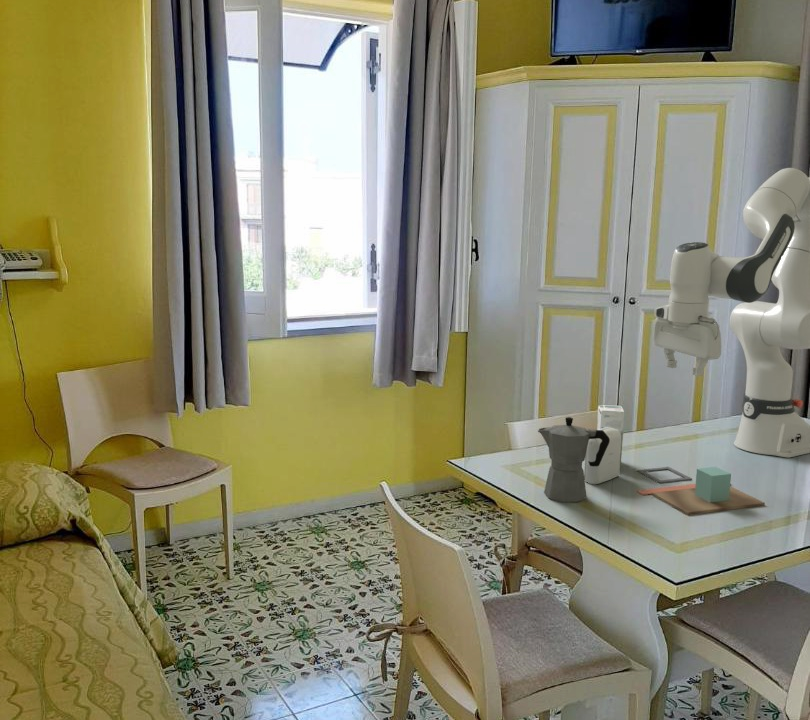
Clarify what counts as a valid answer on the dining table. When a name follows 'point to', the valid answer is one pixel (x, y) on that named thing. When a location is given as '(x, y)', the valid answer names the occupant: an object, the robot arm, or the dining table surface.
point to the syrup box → (611, 419)
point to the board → (696, 505)
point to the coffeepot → (569, 459)
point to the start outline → (665, 480)
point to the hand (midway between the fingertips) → (684, 371)
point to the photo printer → (609, 461)
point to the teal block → (712, 484)
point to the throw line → (666, 489)
